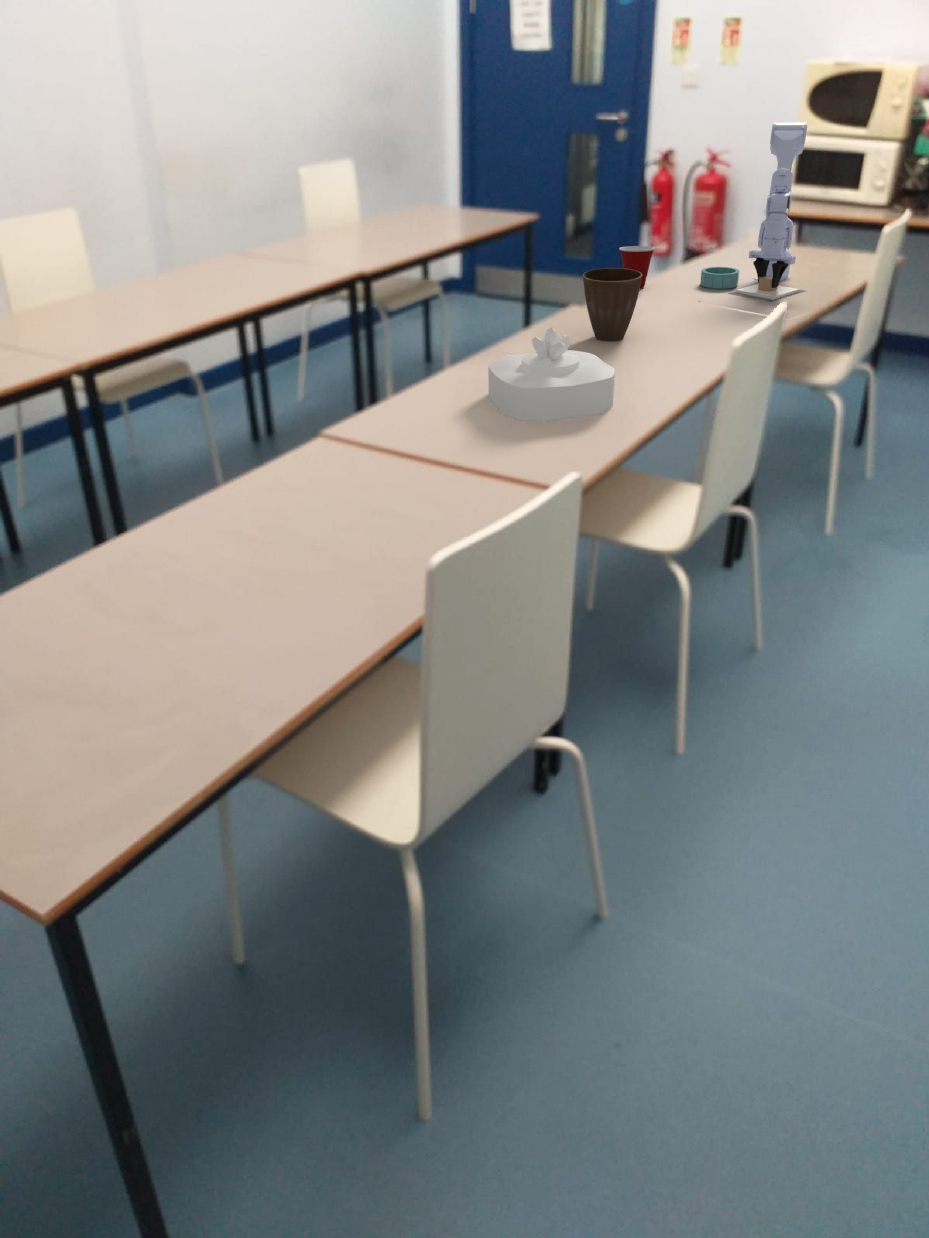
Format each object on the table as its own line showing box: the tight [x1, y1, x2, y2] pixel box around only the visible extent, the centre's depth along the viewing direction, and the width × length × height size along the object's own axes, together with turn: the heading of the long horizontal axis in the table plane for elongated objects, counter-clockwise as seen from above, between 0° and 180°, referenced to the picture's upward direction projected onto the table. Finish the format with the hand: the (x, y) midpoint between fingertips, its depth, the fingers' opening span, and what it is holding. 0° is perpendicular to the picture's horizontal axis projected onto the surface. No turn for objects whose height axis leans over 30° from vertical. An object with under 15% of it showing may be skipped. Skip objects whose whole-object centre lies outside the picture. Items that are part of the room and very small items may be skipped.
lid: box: [735, 275, 800, 300], centre depth 287 cm, size 13×13×4 cm
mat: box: [728, 289, 806, 303], centre depth 288 cm, size 18×15×1 cm
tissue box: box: [487, 326, 616, 423], centre depth 209 cm, size 25×25×16 cm
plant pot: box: [582, 267, 642, 342], centre depth 249 cm, size 15×15×16 cm
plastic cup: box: [619, 245, 656, 290], centre depth 298 cm, size 11×11×12 cm
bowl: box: [699, 266, 740, 290], centre depth 297 cm, size 11×11×5 cm
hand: (768, 286), depth 287 cm, fingers closed on lid, 4 cm apart
